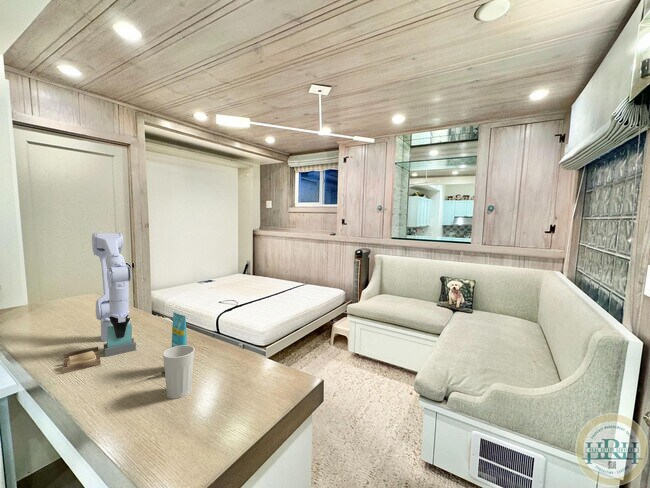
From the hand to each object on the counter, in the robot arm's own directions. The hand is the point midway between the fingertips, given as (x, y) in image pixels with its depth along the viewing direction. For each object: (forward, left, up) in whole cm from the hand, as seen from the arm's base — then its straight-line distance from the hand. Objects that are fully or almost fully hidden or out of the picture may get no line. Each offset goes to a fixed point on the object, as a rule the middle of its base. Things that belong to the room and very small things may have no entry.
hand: (119, 336), depth 102 cm
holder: (0, 0, -6) cm, 6 cm away
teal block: (0, 0, -5) cm, 5 cm away
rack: (+10, +3, -6) cm, 12 cm away
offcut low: (+10, +6, -5) cm, 13 cm away
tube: (-13, +27, -6) cm, 31 cm away
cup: (-10, +39, -6) cm, 41 cm away
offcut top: (+10, +6, -3) cm, 13 cm away
